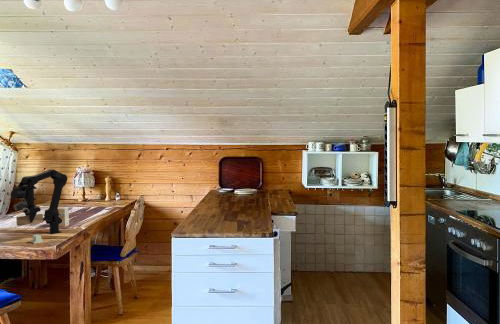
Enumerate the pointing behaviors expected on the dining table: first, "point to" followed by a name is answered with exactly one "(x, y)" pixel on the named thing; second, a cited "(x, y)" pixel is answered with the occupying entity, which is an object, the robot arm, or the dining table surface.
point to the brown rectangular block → (26, 220)
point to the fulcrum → (36, 239)
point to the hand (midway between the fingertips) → (30, 222)
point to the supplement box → (64, 216)
